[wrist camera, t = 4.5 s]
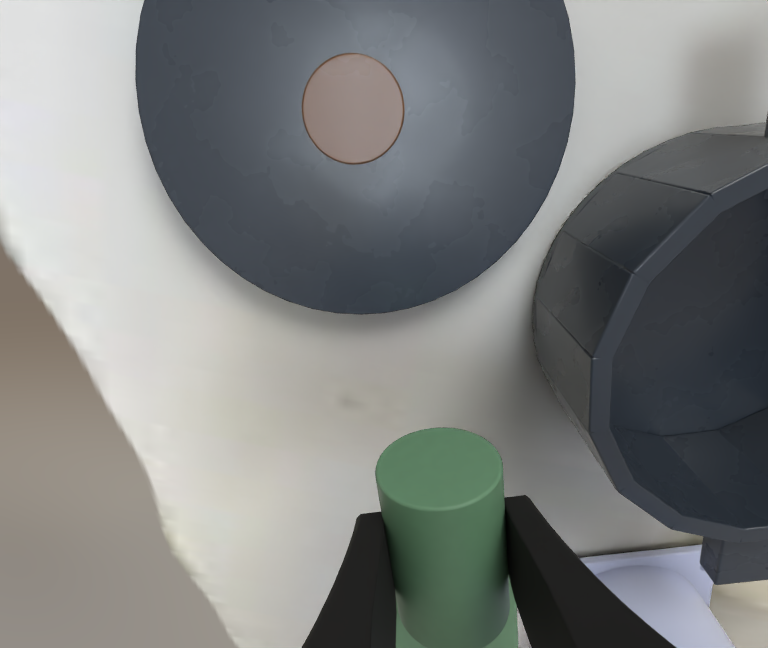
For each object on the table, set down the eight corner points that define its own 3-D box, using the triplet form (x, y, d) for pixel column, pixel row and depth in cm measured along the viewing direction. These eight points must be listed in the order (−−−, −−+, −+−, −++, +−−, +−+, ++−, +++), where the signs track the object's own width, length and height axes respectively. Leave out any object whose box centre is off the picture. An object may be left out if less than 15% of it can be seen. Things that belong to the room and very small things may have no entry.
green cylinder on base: (359, 435, 13) (355, 518, 11) (503, 418, 13) (537, 498, 10) (396, 641, 16) (400, 747, 14) (513, 628, 16) (541, 733, 13)
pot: (932, 4, 15) (1212, -53, 10) (815, 473, 22) (949, 580, 17) (527, 60, 16) (602, 33, 10) (534, 504, 22) (582, 619, 17)
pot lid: (565, -184, 13) (657, -330, 9) (561, 280, 18) (620, 331, 14) (89, -111, 14) (-43, -216, 9) (211, 324, 19) (161, 387, 14)
